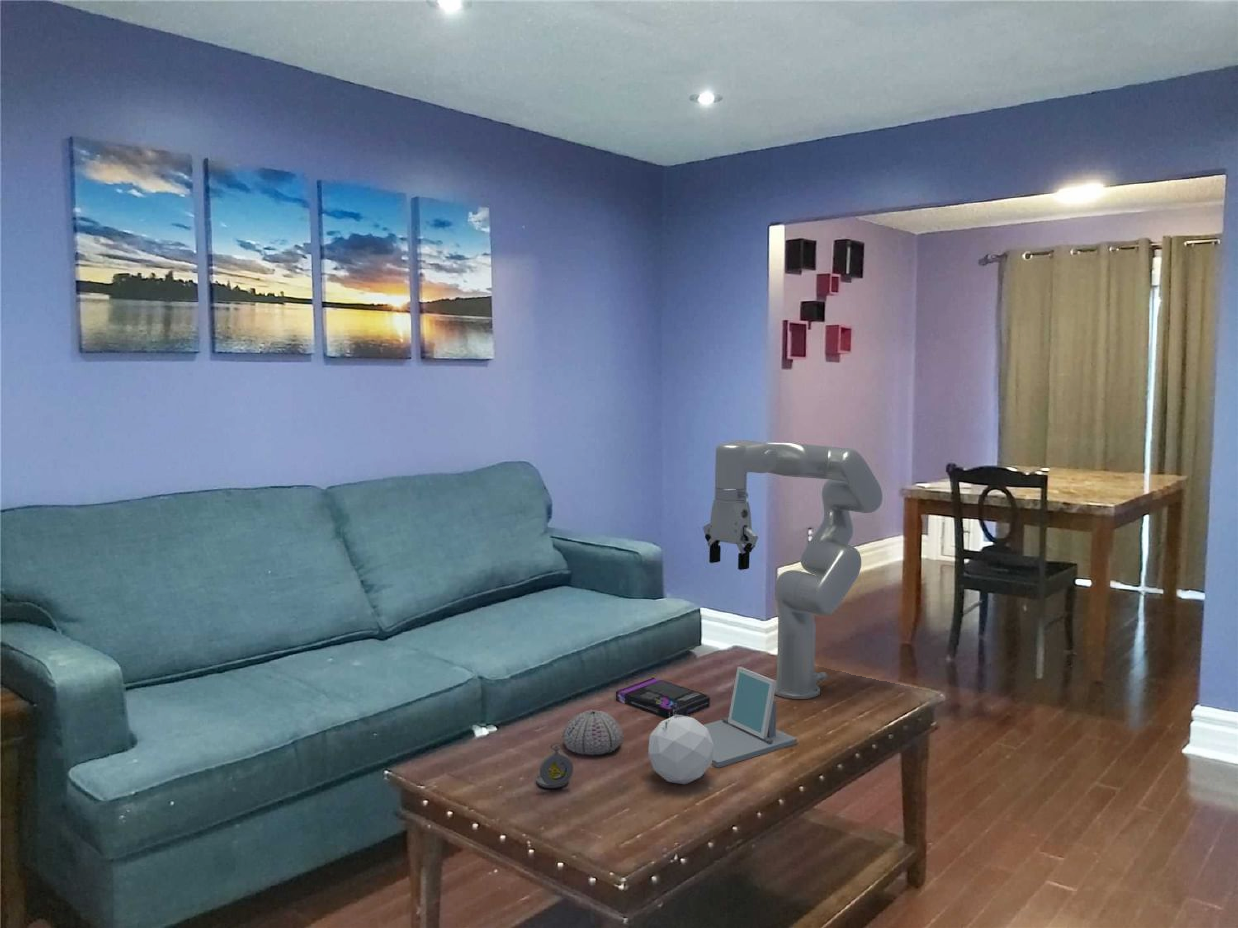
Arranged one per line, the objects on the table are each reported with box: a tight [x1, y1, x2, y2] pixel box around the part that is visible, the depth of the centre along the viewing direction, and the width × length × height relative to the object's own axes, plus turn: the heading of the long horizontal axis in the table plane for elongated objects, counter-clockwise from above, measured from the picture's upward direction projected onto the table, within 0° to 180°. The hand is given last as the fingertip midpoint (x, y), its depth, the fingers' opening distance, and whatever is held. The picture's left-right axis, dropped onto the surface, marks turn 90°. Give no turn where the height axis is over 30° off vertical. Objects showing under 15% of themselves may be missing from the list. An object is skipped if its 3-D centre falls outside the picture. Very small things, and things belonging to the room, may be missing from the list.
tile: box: [727, 666, 777, 739], centre depth 216 cm, size 13×12×1 cm
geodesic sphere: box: [647, 714, 714, 785], centre depth 193 cm, size 14×14×14 cm
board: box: [702, 698, 798, 769], centre depth 213 cm, size 23×18×9 cm
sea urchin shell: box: [561, 709, 624, 756], centre depth 211 cm, size 13×14×8 cm
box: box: [615, 677, 711, 720], centre depth 238 cm, size 14×4×20 cm
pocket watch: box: [535, 741, 574, 789], centre depth 191 cm, size 8×8×10 cm
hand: (728, 565), depth 229 cm, fingers open, 9 cm apart
